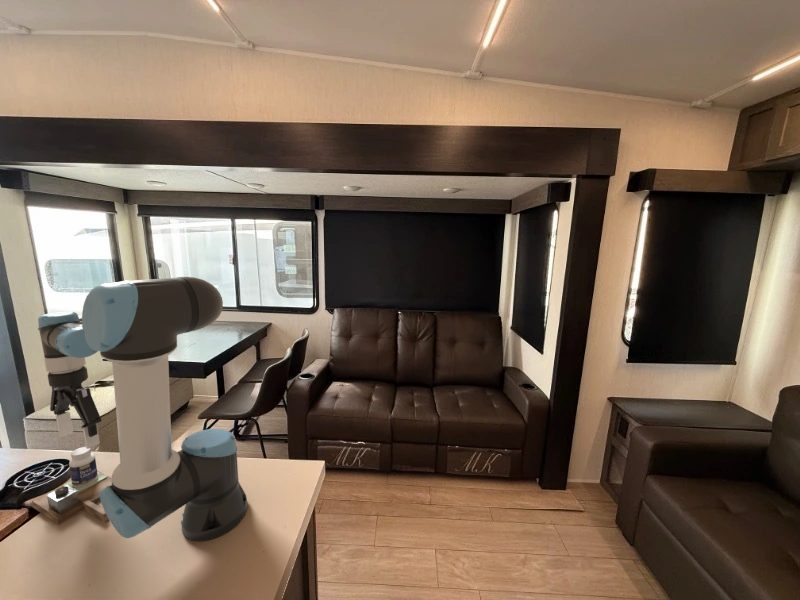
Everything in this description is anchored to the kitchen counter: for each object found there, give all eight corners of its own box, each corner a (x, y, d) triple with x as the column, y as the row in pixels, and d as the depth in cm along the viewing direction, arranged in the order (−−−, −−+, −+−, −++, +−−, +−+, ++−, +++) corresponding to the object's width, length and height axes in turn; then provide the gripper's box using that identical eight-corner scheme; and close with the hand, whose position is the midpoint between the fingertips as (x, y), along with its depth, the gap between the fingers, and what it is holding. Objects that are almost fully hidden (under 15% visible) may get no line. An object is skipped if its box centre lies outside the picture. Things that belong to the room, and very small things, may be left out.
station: (143, 497, 91) (142, 490, 91) (79, 538, 78) (78, 530, 78) (95, 472, 100) (94, 465, 99) (30, 506, 87) (29, 498, 87)
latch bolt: (79, 503, 87) (76, 487, 86) (59, 515, 83) (56, 498, 82) (69, 497, 89) (66, 481, 88) (49, 508, 85) (46, 491, 84)
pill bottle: (82, 489, 91) (77, 458, 89) (67, 486, 92) (61, 455, 90) (103, 475, 96) (98, 446, 95) (88, 473, 97) (83, 443, 96)
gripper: (110, 371, 87) (121, 443, 91) (61, 357, 96) (72, 423, 100) (74, 381, 80) (87, 459, 84) (24, 366, 89) (38, 436, 93)
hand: (79, 440), depth 92 cm, fingers open, 13 cm apart
